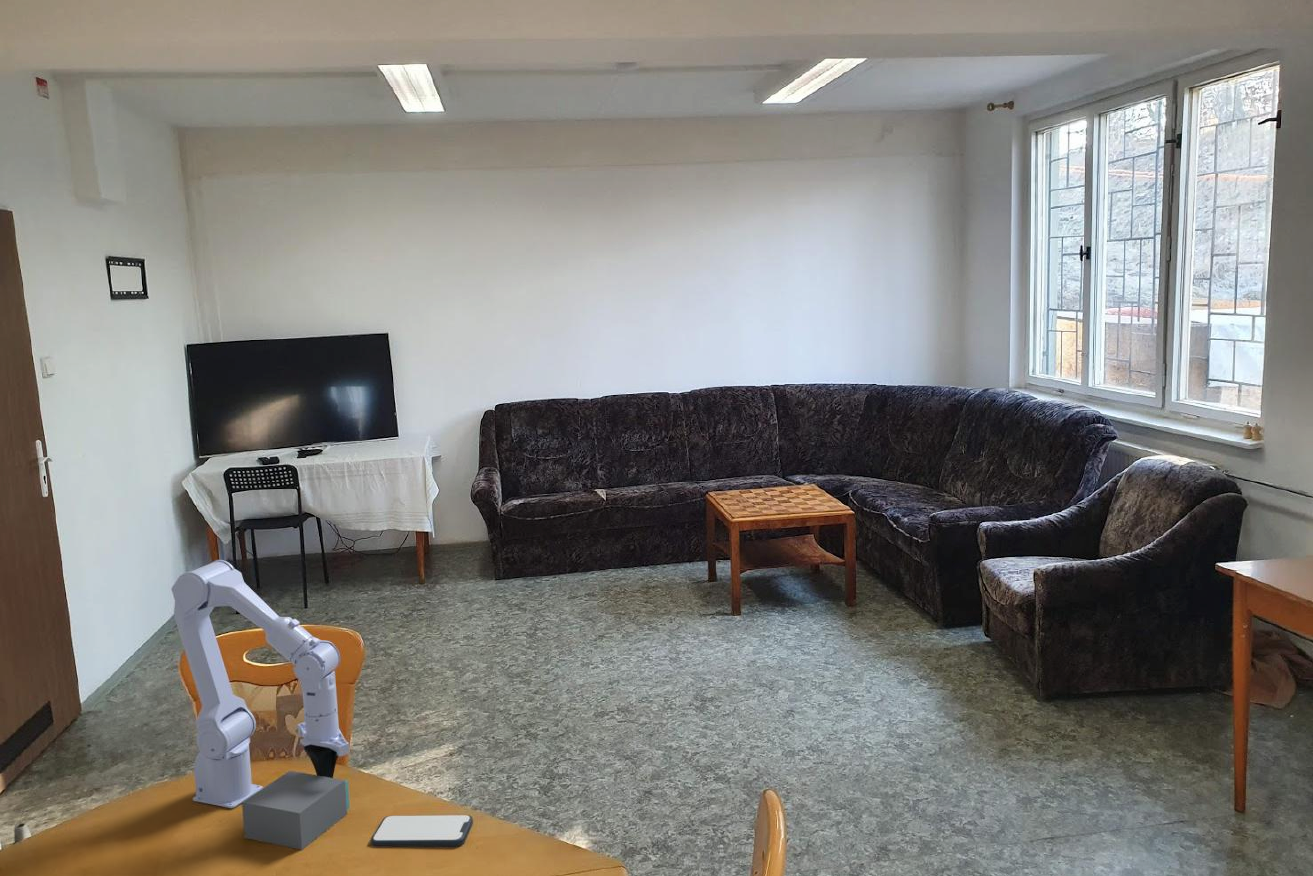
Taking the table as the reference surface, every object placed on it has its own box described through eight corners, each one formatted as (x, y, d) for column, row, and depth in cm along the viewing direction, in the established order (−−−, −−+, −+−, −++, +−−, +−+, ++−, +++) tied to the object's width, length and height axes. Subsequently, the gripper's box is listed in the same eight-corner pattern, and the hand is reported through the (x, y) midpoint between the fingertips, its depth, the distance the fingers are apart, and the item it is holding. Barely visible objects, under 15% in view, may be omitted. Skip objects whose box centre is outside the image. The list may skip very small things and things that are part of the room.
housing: (292, 804, 177) (289, 770, 176) (347, 814, 173) (344, 780, 173) (244, 837, 166) (241, 802, 165) (302, 849, 162) (299, 813, 161)
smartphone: (368, 850, 163) (462, 850, 162) (368, 842, 163) (461, 841, 162) (385, 823, 172) (474, 822, 171) (385, 814, 171) (474, 813, 171)
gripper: (280, 707, 177) (285, 777, 178) (321, 729, 167) (327, 802, 169) (315, 695, 182) (320, 763, 184) (357, 715, 172) (362, 787, 174)
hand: (326, 781), depth 177 cm, fingers closed, pressing on tray
